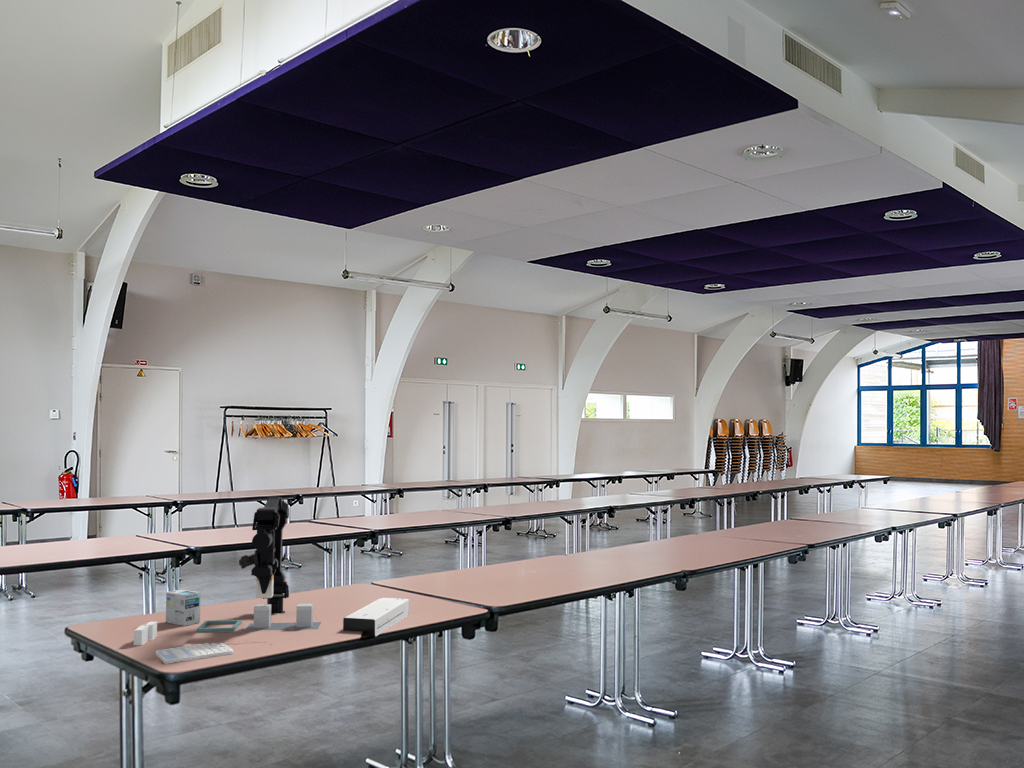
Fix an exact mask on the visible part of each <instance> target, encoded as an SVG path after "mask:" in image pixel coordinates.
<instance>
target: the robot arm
mask: <svg viewBox="0 0 1024 768" xmlns="http://www.w3.org/2000/svg"><path fill="white" fill-rule="evenodd" d="M289 518H290V508H289V504H288V503H287V502H285V501H284V500H283V497H280V496H269V497H267V499H266V503H265V504H264V506H263V507H259V508H257V509H256V511H255V512H254V515H253V520H252V522H253V523H252V527H251V529H252V531H256V534H255V535H253V536H252V540H251V544H252V547H253V548H254V549H255V550H254V553H252V554H248V555H247V554H245V555H243V556H241V557H240V558H239V559H238V562H239V563H238V564H239V566H240V568H241V570H242V569H245V568H247V567H249V566H250V567H251V566H252V565H254V566H253V568H251V569H250V570H251V572H250V573H251V574H250V575H251V576H254V577H256V579H257V578H258V579H259V583H260V587H261V591H262V594H265V593H266V591H267V588H268V585H269V583H270V580H271V578H272V575H274V585H273V597H272V598H262V599H263V600H264V599H266V601H267V602H266V604H271V615H272V614H274V615H276V614H285V613H286V610H284V599H288V598H290V590H289V589H290V588H289V587H290V586H289V585H288V581H286V575H285V573H284V572H283V570H282V560H283V559H282V557H283V556H282V555H283V552H282V551H283V531H284V528H285V527H286V525H287V523H288V519H289Z"/></svg>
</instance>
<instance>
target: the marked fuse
mask: <svg viewBox="0 0 1024 768" xmlns="http://www.w3.org/2000/svg"><path fill="white" fill-rule="evenodd" d="M273 585H274V575H272V578H271V580H270V583H269V585H268V588H267V591H266V593H265V594H262V591H261V587H260V583H259V579H258V578H257V577H256V590H255V592H256V594H255V598H256V599H263V598H272V597H273Z"/></svg>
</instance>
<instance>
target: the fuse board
mask: <svg viewBox="0 0 1024 768" xmlns="http://www.w3.org/2000/svg"><path fill="white" fill-rule="evenodd" d="M321 624H322V621H313V625H312V627H296V622H271V626H270V627H269V628H254V622H252V623H250V622H249V624H248V625H247V626H246V628H244V630H243V631H249V632H250V631H252V632H253V631H290V630H292V631H293V630H294V631H295V630H298V631H299V630H318V629H319V627H320V626H321Z"/></svg>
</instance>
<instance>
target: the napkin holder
mask: <svg viewBox="0 0 1024 768" xmlns="http://www.w3.org/2000/svg"><path fill="white" fill-rule="evenodd" d="M156 636H158V621H148V622H147V623H144V624H141V625H139V626H137V627H136V628H135V629H134V630H133V646H134V645H142V644H143V645H145V642H146V643H147V642H148V640H151V641H153V640H155V639H156V638H157V637H156ZM155 637H156V638H155ZM143 645H142V646H143Z"/></svg>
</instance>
